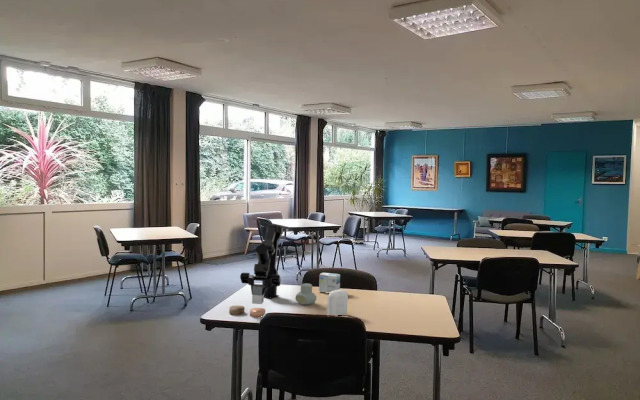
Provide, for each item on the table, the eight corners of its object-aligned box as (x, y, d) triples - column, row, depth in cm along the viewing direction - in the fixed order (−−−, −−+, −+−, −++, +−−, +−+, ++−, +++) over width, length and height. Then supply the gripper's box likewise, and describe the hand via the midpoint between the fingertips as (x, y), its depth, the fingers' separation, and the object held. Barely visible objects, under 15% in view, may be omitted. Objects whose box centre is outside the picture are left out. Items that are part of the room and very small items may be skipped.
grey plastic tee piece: (292, 303, 225) (293, 284, 225) (302, 300, 232) (303, 281, 232) (309, 307, 219) (309, 287, 218) (318, 304, 225) (319, 285, 225)
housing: (254, 300, 205) (254, 284, 205) (263, 301, 205) (264, 284, 205) (251, 303, 201) (252, 286, 200) (261, 304, 200) (262, 287, 200)
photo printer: (343, 312, 213) (344, 287, 212) (348, 315, 209) (349, 289, 208) (325, 315, 207) (326, 289, 206) (330, 318, 203) (332, 292, 203)
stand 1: (237, 309, 210) (237, 304, 210) (247, 312, 206) (247, 307, 206) (226, 312, 205) (226, 307, 205) (236, 316, 201) (236, 310, 200)
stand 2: (257, 311, 208) (257, 306, 208) (268, 315, 204) (268, 309, 204) (246, 315, 202) (246, 310, 202) (257, 318, 198) (257, 313, 198)
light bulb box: (339, 292, 251) (340, 274, 250) (336, 295, 245) (336, 276, 244) (322, 290, 255) (323, 271, 254) (318, 292, 248) (319, 274, 248)
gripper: (241, 255, 206) (234, 284, 196) (280, 257, 205) (275, 286, 195) (245, 268, 215) (238, 296, 204) (282, 270, 213) (278, 299, 203)
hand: (257, 294), depth 201 cm, fingers closed on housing, 4 cm apart
